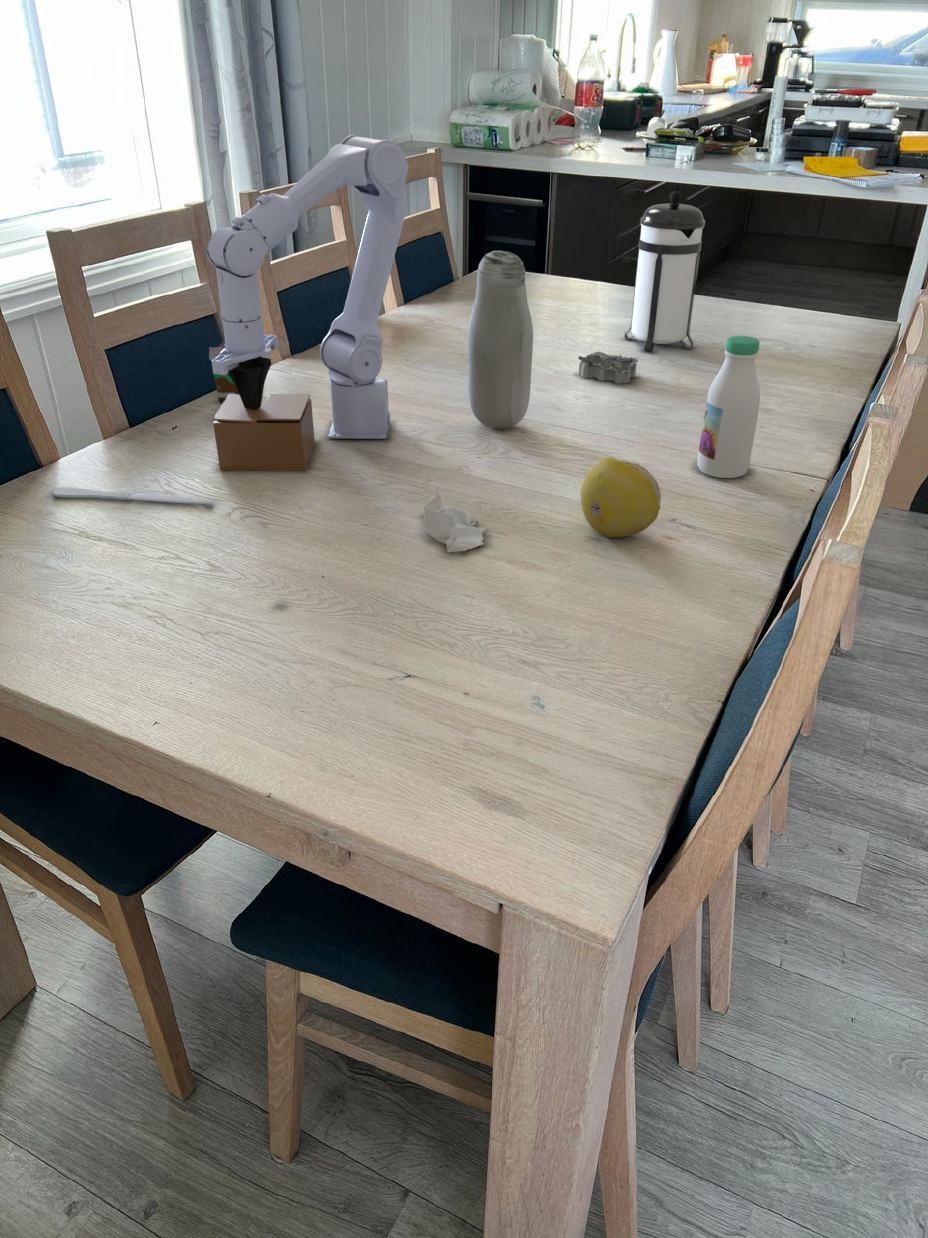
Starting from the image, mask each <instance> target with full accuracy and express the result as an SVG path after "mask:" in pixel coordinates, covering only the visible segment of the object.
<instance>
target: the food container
mask: <svg viewBox="0 0 928 1238" xmlns="http://www.w3.org/2000/svg"><path fill="white" fill-rule="evenodd" d="M225 347H226V345H225V340H223V341H222V342H221V344H219V346H217V347H211V346H209V347H208V349H209V351H208V359H209V361H211V362H212V360H213V359H215V358H217V357H218V355H219V354H220V353H221V352H222V351H223V350H224V348H225ZM213 377H214V381H215V382H214V383H215V388H216V393H217V398H218V402H224V401H225V399H226V398H227V396H228V395H229V394H238V395H239V392H238V390H237V388H236V386H235V384H234V382H233V381H232V379H231V378H230V376H229V375H228V374H226V375H220V374H214V373H213Z"/></svg>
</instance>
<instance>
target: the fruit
mask: <svg viewBox="0 0 928 1238" xmlns="http://www.w3.org/2000/svg"><path fill="white" fill-rule="evenodd" d="M585 475H586V476H585V477H584V480H583V482H582V485H581V489H580V505H581V510H582V512H583V517H584V518H585V520H586V522H587V523H588V525H589V526H590V527H591V528H592V530H593V531H595V532H596V533H597V534H599V535H601V536H604V537H607V538H624V537H629V536H633V535H636V534H639V533H642V532H643V531H644V530H646V529H648V528H649V527H650V526H651V525H652V524H653V523H654V522H655V521H656V520H657V518H658V516H659V511H660V510H661V502H662V501H661V500H662V493H661V489H660V486H659V483H658V481H657V480H656V479H655V477H654V476H653V474H652V473H651V472H649V470H648V469H647V468H645V467H644V466H642V465H641V464H639V463H635V462H631V461H627V460H619V459H617V458H615V457H607V458H604V459H602V460H599V461H598V462H596V464H594V465H593V466H592V467H591V468H590V470H589V471H588V472H587V474H585Z"/></svg>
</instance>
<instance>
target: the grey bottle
mask: <svg viewBox="0 0 928 1238" xmlns="http://www.w3.org/2000/svg"><path fill="white" fill-rule="evenodd" d="M476 282H477V283H476V292H475V298H474V303H473V307H472V310H471V316H470V320H469V324H468V332H467V333H468V334H467V361H468V362H467V363H468V365H467V366H468V384H467V385H468V387H467V388H468V400H469V402H468V403H469V407H470V410H471V412H472V414H473V415H474V418H476V419H477V421H478V422H479V423H481V424H482V425H484V426H485V427H488V428H492V429H496V430H502V429H509V428H512V427H514V426H516V425H518V424H520V422H521V421H522V420H523V419H524V417H525V416H526V414H527V411H528V407H529V403H530V397H531V381H532V365H533V351H534V350H533V349H534V328H533V327H534V326H533V320H532V315H531V311H530V307H529V303H528V302H529V301H528V295H527V287H526V267H525V265H524V262H523V260H522V259H521V258H520V257H519V256H518V255H516V254H515V253H513V252H510V251H505V250H492V251H490V252H489V253H486V254H484V256H483V257H482V259H481V260H480V262H479V264H478V268H477V274H476Z"/></svg>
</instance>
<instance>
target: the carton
mask: <svg viewBox="0 0 928 1238" xmlns="http://www.w3.org/2000/svg"><path fill="white" fill-rule="evenodd" d="M313 416H314V415H313V403H312V398H311V394H309V393H307V394H305V393H304V394H301V393H295V394H294V393H293V394H292V393H270V394H269V395H268V399H267V401H266V403H265V405H264V407H263V409H262V411H261V412H260V414H259V416H258V418H257V423H246V422H231V421H216V420H213V431H214V437H215V444H216V445H215V446H216V451H217V459H218V463H219V464H218V466H219V470H220V471H306V469H307V466H308V463H309V461H310V458H311V455H312V452H313V450H314V447H315V444H316V442H315V440H316V439H315V429H314V417H313Z"/></svg>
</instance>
